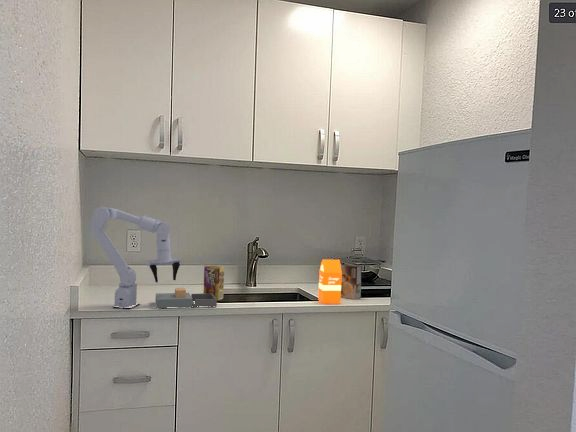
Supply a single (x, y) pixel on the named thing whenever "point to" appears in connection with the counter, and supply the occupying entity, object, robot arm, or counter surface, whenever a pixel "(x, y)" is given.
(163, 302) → the slate board
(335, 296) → the orange juice
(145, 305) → the counter surface
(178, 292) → the orange block
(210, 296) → the tray
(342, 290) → the coffee box
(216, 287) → the candy box
